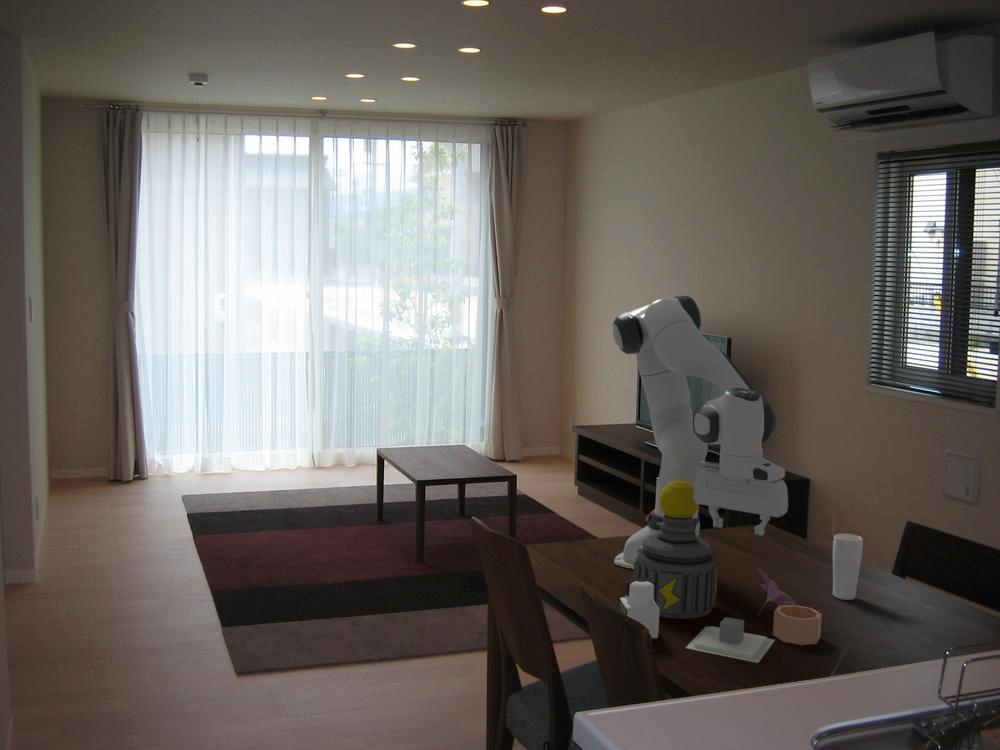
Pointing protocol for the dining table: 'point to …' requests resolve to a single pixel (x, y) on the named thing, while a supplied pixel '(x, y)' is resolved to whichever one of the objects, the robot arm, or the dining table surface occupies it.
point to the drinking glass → (846, 565)
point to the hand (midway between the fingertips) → (738, 530)
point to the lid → (731, 639)
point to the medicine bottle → (641, 604)
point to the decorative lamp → (678, 558)
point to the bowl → (797, 624)
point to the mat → (755, 659)
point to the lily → (774, 593)
